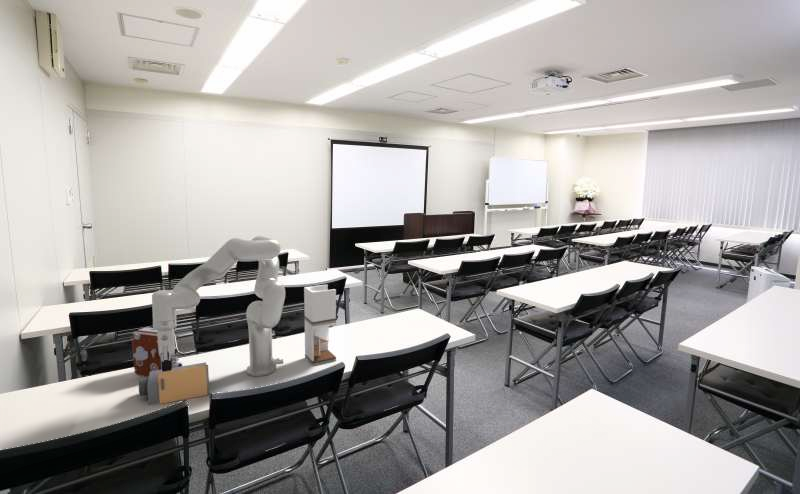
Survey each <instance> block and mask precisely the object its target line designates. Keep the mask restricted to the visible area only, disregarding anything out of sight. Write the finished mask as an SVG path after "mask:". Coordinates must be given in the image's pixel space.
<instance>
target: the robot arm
mask: <svg viewBox="0 0 800 494" xmlns="http://www.w3.org/2000/svg"><path fill="white" fill-rule="evenodd" d="M281 249H282V248H281V245H280V243H279V242H278V241H277V240H276V239H274V238H269V237H266V236H260V235H259V236H258V235H257V236H254V237H253V238H252V239H251V240H245V239H240V238H237V237H233V238H231V239H228V240H227V241H226V242H225V243H224V244H223V245H222V246H221V247H220V248H219V249H218V250H217V251H216V252H215V253H214V254H213V255H211V256H210V258H209V259H207V261H205V262H203V264H200V265H199V266H198V267H196V268H195V269H193V270H192V271H190V272H188V273H187V274H186V275H185V276H184V277H182V279H181V280H180V281H179V282H178V283H177V284H175V286H174V287H173V288H172V289H171V290H170V289H162V290H161V289H160V290H156V291H154V292H153V293H152V294H151V306H152V308H151V309H152V328H153V329H154V330H157V337H158V350H159V356H162V371H163V372H164V371H170V370H172V359H171V354H172V355H173V354H174V353H175V347H176V345H175V342H176V341H175V338H176V337H175V328H176V327H178V326H177V325H178V324H177V310H190V309H194V308H195V307H197V306H198V305H199V303H200V301H201V296H200V294H199V293H198V290H199V289H200V288H201V287H202V286H204V285H205V284H207V283H210V282H212V281H215V280H218V279H220V278H223V277H225V275H226V274H227V273H228V272H229V271H230V270H231V269H232V268H233V267H234V266H235V265H236V264H237V263H238V262H258V270H257V276H256V280H255V284H254V290H253V291H254V294H255V295H256V296H257V297H258V298H260V299H262V300H255V301H252V302H251V303H250V304H249V305H248V306H247V309H246V312H245V314H246V322H247V326H248V345H249V347H248V348H249V350H248V351H249V366H247V367H246V369H245V370H246V374H247V375H249V376H250V377H251V376H252V377H262V376H263V377H264V376H268V375H270V374H273V373H274V372H275V371H276V370H277V366H278V365H282V364H284V359H280V358H279V357H278V358H273V338H272V337H273V333H272V332H273V331H272V329H273V328H275V327H276V326H277V325H278V324H279V322H280V320H281V317H282V314H283V313H282V312H283V310H284V308H283V307H284V304H285V299H286V288H285V286H284V284H283V283H282V282H280V281H278V277H279V270H280V259H279V255H280V253H281Z"/></svg>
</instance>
